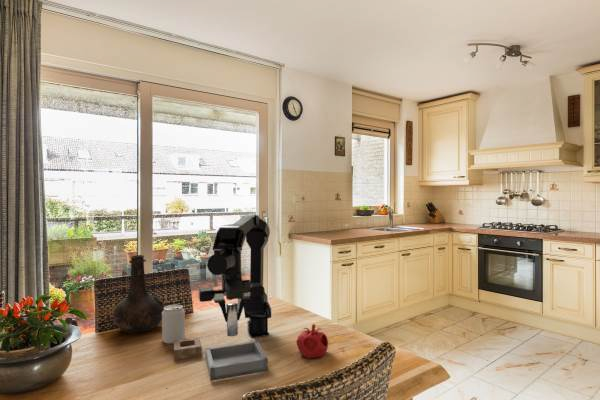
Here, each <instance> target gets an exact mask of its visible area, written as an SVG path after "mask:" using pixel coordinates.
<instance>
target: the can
mask: <svg viewBox="0 0 600 400" xmlns="http://www.w3.org/2000/svg"><path fill="white" fill-rule="evenodd" d="M183 307H184V306H183V305H180V304H170V305H166V306H164V311H163V312H162V320H161V339H162V342H163V343H165V344H167V345H170V344H173V345H174V341H175V340H182V339H186V323H185V322H186V320H185V319H186V318H185V317H186V315H185V313H186V312H185V309H184V308H183Z"/></svg>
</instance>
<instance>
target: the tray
mask: <svg viewBox="0 0 600 400" xmlns="http://www.w3.org/2000/svg"><path fill="white" fill-rule="evenodd" d="M205 362H206V366H207V370H208V375H209V378H210V379H209V380H210V382H214V381H219V380H225V379H231V378H236V377H243V376H247V375H253V374H258V373H265V372H268V371H269V358H268V357H267V355H266V353H265V352H264V350H263V349H262V347H261V345H260V343H259V342H258V341H257V340H253V341H247V342H239V343H233V344H226V345H220V346H213V347H212V346H211V347H206V348H205Z"/></svg>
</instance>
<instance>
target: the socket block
mask: <svg viewBox="0 0 600 400" xmlns="http://www.w3.org/2000/svg"><path fill="white" fill-rule="evenodd" d="M173 352H174V353H173V355H174V356H173V357H174V361H177V360H179V361H180V360H184V359H185V360H186V359H190V358H191V359H193V358H197V357H198V358H200V357H202V355H203V353H202V352H203V350H202V342H201V338H200V337H198V336H196V337H191V338H190V337H189V338H185V339H182V340H175V341H174V343H173Z"/></svg>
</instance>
